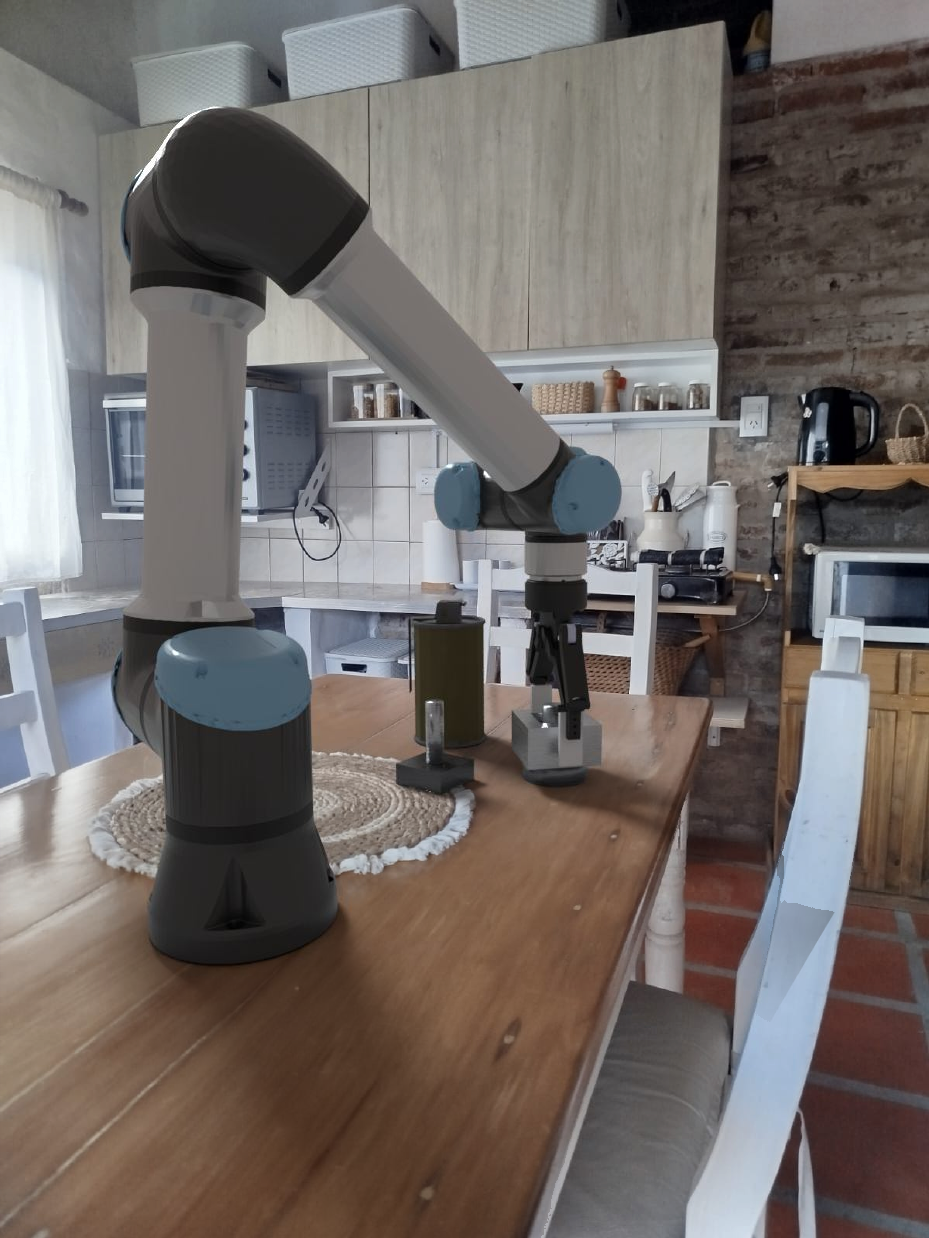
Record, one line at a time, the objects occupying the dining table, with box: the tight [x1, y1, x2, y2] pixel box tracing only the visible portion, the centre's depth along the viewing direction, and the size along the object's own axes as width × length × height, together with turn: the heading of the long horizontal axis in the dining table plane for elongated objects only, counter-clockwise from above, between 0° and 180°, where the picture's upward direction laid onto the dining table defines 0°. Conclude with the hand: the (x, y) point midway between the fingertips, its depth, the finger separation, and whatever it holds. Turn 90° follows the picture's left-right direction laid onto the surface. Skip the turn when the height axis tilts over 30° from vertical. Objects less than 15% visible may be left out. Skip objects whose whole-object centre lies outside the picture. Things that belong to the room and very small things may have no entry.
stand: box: [395, 699, 475, 795], centre depth 103 cm, size 7×7×10 cm
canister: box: [407, 599, 487, 749], centre depth 121 cm, size 11×10×20 cm
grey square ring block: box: [511, 708, 603, 770], centre depth 104 cm, size 9×9×5 cm
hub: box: [521, 701, 588, 788], centre depth 104 cm, size 8×8×9 cm
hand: (554, 748), depth 105 cm, fingers open, 13 cm apart
